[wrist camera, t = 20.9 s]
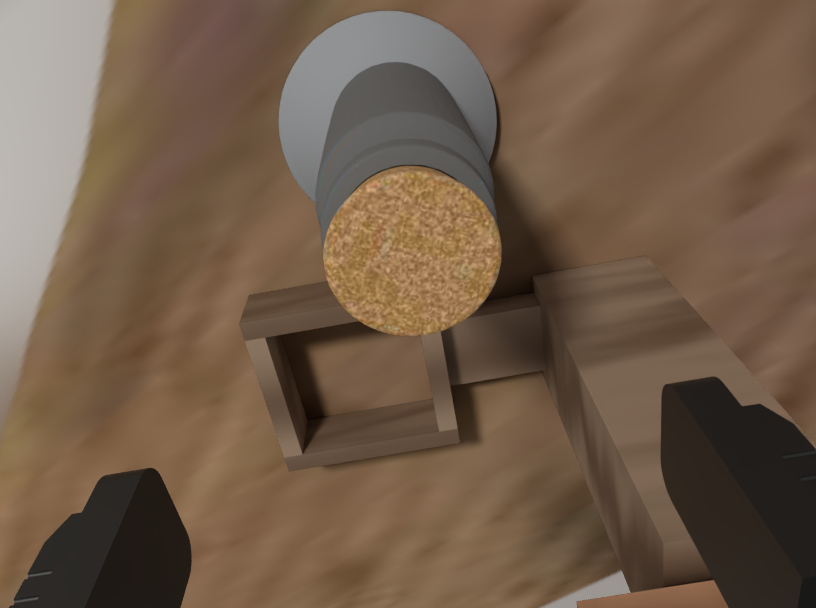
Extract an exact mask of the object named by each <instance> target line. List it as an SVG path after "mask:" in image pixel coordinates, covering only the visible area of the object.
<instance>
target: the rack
mask: <svg viewBox="0 0 816 608" xmlns="http://www.w3.org/2000/svg"><path fill="white" fill-rule="evenodd" d="M532 278H533V289H534V293H528V294H522V295H517V296H511V297H505V298H499V299H494V300H488V301H484V302H483V303H482V305H481V306H480V307H479V308H478V309H477V310H476V311H475V312H474V313H473V314H471V315H470V316H469V317H467V318H466V319H465V320H463V321H462V322H460V323H458V324H456V325H454V326H452V327H451V328H449V329H446V330H443V331H440V332H437V333H433V334H428V335H422V336H421V339H422V345H423V350H424V355H425V360H426V366H427V371H428V376H429V381H430V386H431V392H432V397H433V399H430V400H424V401H418V402H412V403H406V404H400V405H395V406H389V407H383V408H377V409H371V410H365V411H359V412H353V413H347V414H341V415H336V416H330V417H324V418H318V419H312V420H307V418H306V414H305V411H304V408H303V405H302V401H301V398H300V395H299V392H298V388H297V385H296V382H295V379H294V375H293V372H292V369H291V366H290V362H289V359H288V356H287V352H286V349H285V346H284V343H283V339H282V336H281V335H283V334H288V333H294V332H300V331H306V330H311V329H317V328H323V327H328V326H334V325H340V324H346V323H351V322H357V321H359V320H357V319H356V318H354V317H353V316H352V315H351V314H350V313H348V312H347V311H346V310H345V309H344V308H343V306H342V305H341V304H340V303H339V301H338V300H337V299H336V297H335V295H334V294H333V292H332V290H331V288H330V286H329V284H328V281H327V282H322V283H316V284H310V285H305V286H299V287H294V288H288V289H282V290H277V291H271V292H265V293H260V294H254V295H249V298H248V300H247V303H246V306H245V309H244V312H243V314H242V317H241V320H240V323H239V325H240V328H241V331H242V334H243V337H244V339H245V342H246V345H247V348H248V351H249V354H250V357H251V360H252V363H253V366H254V369H255V372H256V375H257V378H258V381H259V384H260V387H261V390H262V393H263V396H264V399H265V402H266V405H267V407H268V410H269V413H270V416H271V419H272V422H273V425H274V428H275V431H276V434H277V437H278V440H279V443H280V446H281V449H282V452H283V455H284V458H285V461H286V464H287V467H288V470H289V471H295V470H301V469H307V468H313V467H319V466H325V465H331V464H337V463H343V462H349V461H355V460H361V459H367V458H373V457H379V456H385V455H391V454H397V453H403V452H409V451H415V450H421V449H427V448H433V447H439V446H445V445H451V444H457V443H460V440H459V434H458V428H457V422H456V417H455V411H454V405H453V400H452V394H451V388H450V386H454V385H460V384H465V383H471V382H477V381H483V380H489V379H495V378H501V377H507V376H512V375H518V374H524V373H530V372H536V371H542V373H543V375H544V378H545V380H546V383H547V385H548V388H549V390H550V393H551V395H552V398H553V400H554V403H555V405H556V408H557V410H558V413H559V415H560V418H561V420H562V423H563V425H564V428H565V430H566V433H567V435H568V438H569V440H570V443H571V445H572V447H573V450H574V452H575V455H576V457H577V460H578V462H579V465H580V467H581V470H582V472H583V475H584V477H585V480H586V482H587V485H588V487H589V490H590V492H591V495H592V497H593V500H594V502H595V505H596V507H597V510H598V512H599V515H600V517H601V520H602V522H603V525H604V527H605V530H606V532H607V535H608V537H609V540H610V542H611V545H612V547H613V549H614V552H615V554H616V557H617V559H618V562H619V564H620V567H621V569H622V572H623V574H624V577H625V579H626V582H627V584H628V587H629V589H630V592H631V593H634V592H640V591H647V590H653V589H660V588H666V587H672V586H679V585H685V584H692V583H698V582H704V581H711V580H713V578H712V576H711V574H710V572H709V570H708V568H707V566H706V565H705V563H704V561H703V559H702V557H701V555H700V553H699V552H698V550H697V548H696V546H695V544H694V542H693V540H692V538H691V537H690V535H689V533H688V531H687V529H686V527H685V525H684V524H683V522H682V520H681V518H680V516H679V514H678V512H677V511H676V509H675V507H674V505H673V503H672V501H671V499H670V497H669V494H668V492H667V489H666V486H665V483H664V479H663V475H662V469H661V396H662V389H663V387H664V385H666V384H670V383H676V382H682V381H688V380H694V379H700V378H706V377H712V376H715V377H718V378H719V379H720V380H721V381H722V382H723V383H724V384H725V386H726V387H727V388H728V389H729V391H730V392H731V393H732V394H733V396H734V397H735V398H736V399H737V401H738V402H739V403H740V404H741V406H748V405H754V404H762V405H763V406H765V407H767V408H768V409H770V410H772V411H773V412H775V413H777V414H778V415H780V416H782V417H784V418H785V419H787V420H789V421H790V422H792V423H793V424H794V425H795V426H796V427H797V428H798V429H799V430H800V432H801V433H802V434H803V435H804V436H805V437H806V438H807V440H808V441H809V442H810V443H811V444H812V445H813V446H814V447H815V449H816V445H815V444H814V442H813V441H812V440H811V439H810V438H809V437H808V436H807V435H806V433H805V432H804V431H803V430H802V429H801V428H800V427H799V426H798V425H797V423H796V422H795V421H794V420H793V419H792V418H791V417H790V416H789V415H788V413H787V412H786V411H785V410H784V409H783V408H782V407H781V406H780V404H779V403H778V402H777V401H776V400H775V399H774V398H773V397H772V396H771V394H770V393H769V392H768V391H767V390H766V389H765V388H764V387H763V386H762V384H761V383H760V382H759V381H758V380H757V379H756V378H755V377H754V375H753V374H752V373H751V372H750V371H749V370H748V369H747V368H746V367H745V365H744V364H743V363H742V362H741V361H740V360H739V359H738V358H737V356H736V355H735V354H734V353H733V352H732V351H731V350H730V349H729V348H728V346H727V345H726V344H725V343H724V342H723V341H722V340H721V339H720V338H719V336H718V335H717V334H716V333H715V332H714V331H713V330H712V329H711V327H710V326H709V325H708V324H707V323H706V322H705V321H704V320H703V319H702V317H701V316H700V315H699V314H698V313H697V312H696V311H695V310H694V309H693V307H692V306H691V305H690V304H689V303H688V302H687V301H686V300H685V298H684V297H683V296H682V295H681V294H680V293H679V292H678V291H677V290H676V288H675V287H674V286H673V285H672V284H671V283H670V282H669V281H668V279H667V278H666V277H665V276H664V275H663V274H662V273H661V272H660V271H659V269H658V268H657V267H656V266H655V265H654V264H653V263H652V262H651V261H650V259H649V258H648V257H647V256H642V257H636V258H631V259H625V260H619V261H614V262H608V263H602V264H597V265H591V266H585V267H579V268H574V269H568V270H562V271H557V272H551V273H545V274H540V275H534V276H532Z"/></svg>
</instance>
